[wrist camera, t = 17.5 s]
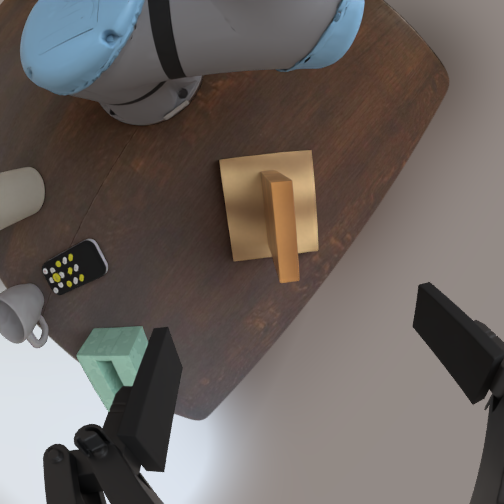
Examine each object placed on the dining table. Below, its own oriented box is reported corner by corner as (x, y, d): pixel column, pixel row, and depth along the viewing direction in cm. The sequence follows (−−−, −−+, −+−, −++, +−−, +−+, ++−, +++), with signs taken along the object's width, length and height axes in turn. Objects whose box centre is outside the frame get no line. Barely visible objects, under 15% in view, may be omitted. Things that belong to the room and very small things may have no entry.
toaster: (122, 389, 52) (112, 417, 44) (93, 328, 46) (75, 355, 39) (167, 389, 52) (160, 420, 44) (142, 325, 46) (128, 355, 39)
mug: (11, 287, 43) (-17, 311, 34) (30, 265, 41) (-1, 289, 32) (47, 334, 47) (25, 363, 37) (69, 317, 45) (45, 348, 36)
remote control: (112, 269, 42) (107, 275, 41) (60, 293, 43) (55, 298, 42) (94, 234, 40) (88, 238, 38) (43, 262, 41) (37, 267, 40)
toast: (268, 244, 41) (279, 283, 29) (260, 171, 37) (270, 182, 26) (282, 242, 41) (299, 280, 29) (275, 169, 37) (292, 180, 26)
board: (219, 159, 38) (219, 160, 36) (308, 149, 38) (311, 150, 36) (233, 257, 43) (233, 261, 41) (315, 247, 43) (318, 250, 41)
